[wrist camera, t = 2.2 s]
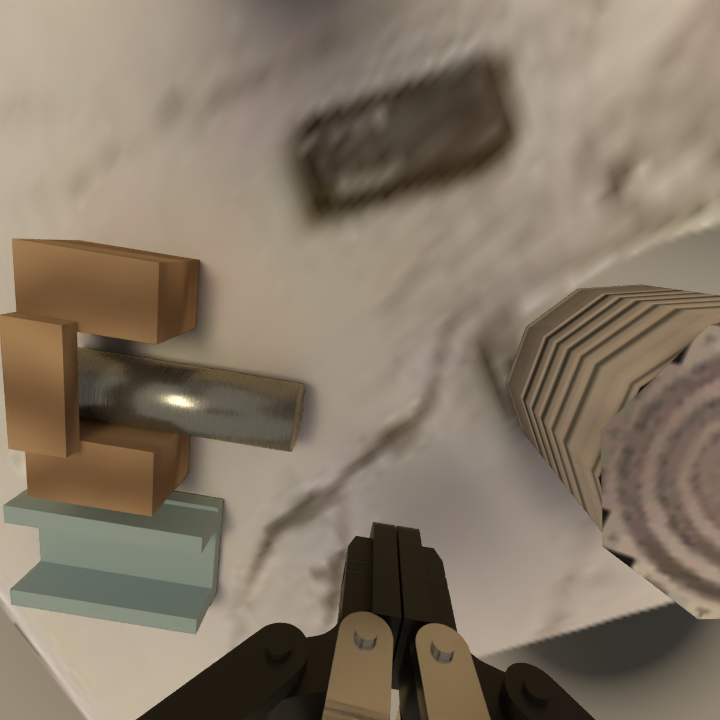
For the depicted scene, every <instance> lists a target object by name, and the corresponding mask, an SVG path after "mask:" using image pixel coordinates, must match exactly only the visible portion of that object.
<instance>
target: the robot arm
mask: <svg viewBox="0 0 720 720" xmlns="http://www.w3.org/2000/svg"><path fill="white" fill-rule="evenodd" d="M447 586H448V585H447V581H446V577H445V571H444V566H443V561H442V560H441V558H440V557H439V555H438V554H437V553H436V551H435V550H434V548H428V547H422V544H421V537H420V531H419V529H414V528H408V527H402V526H396V527H395V525H389V524H383V523H376V522H373V524H372V529H371V534H370V538H366V537H360V536H355V538H354V539H353V540H352V542H351V543H350V544H349V546H348V551H347V556H346V562H345V568H344V573H343V579H342V585H341V594H340V603H339V613H338V622H337V625H336V626H335V627H334V628H333V629H331V630H330V631H328V632H327V633H324V634H322V635H318V636H313V637H307V638H306V637H305V635H304V634H303V633H302V631H301V630H299V629H298V628H297V627H295V626H293V625H291V624H287V623H274V624H270V625H267V626H265V627H263V628H262V629H260V630H259V631H258V632H256V633H255V634H253V635H252V636H251V637H249V638H248V639H247V640H245V641H244V642H242V643H241V644H240V645H238V646H237V647H236V648H234V649H233V650H231V651H230V652H229V653H227V654H226V655H225V656H223V657H222V658H220V659H219V660H218V661H216V662H215V663H213V664H212V665H211V666H209V667H208V668H207V669H205V670H204V671H202V672H201V673H200V674H198V675H197V676H196V677H194V678H193V679H191V680H190V681H189V682H187V683H186V684H185V685H183V686H182V687H180V688H179V689H178V690H176V691H175V692H174V693H172V694H171V695H169V696H168V697H167V698H165V699H164V700H163V701H161V702H160V703H158V704H157V705H156V706H154V707H153V708H152V709H150V710H149V711H147V712H146V713H145V714H143V715H142V716H141V717H139V718H138V719H136V720H390V706H391V689H397V690H399V698H400V704H399V708H398V712H397V716H396V720H595V719H594V718H593V717H592V716H591V715H590V714H589V713H588V712H587V711H585V710H584V709H583V708H582V707H581V706H580V705H579V704H578V703H577V702H576V701H575V700H574V699H573V698H572V697H571V696H570V695H569V694H568V693H567V692H566V691H564V689H562V688H561V687H560V686H559V685H558V684H557V683H556V682H555V681H554V680H553V679H552V678H551V677H550V676H549V675H548V674H546V673H545V672H544V671H542V670H540V669H539V668H537V667H535V666H533V665H530V664H527V663H515V664H512V665H511V666H509V668H507V670H506V672H503V671H501V670H499V669H496V668H495V667H492V666H490V665H488V664H486V663H484V662H482V661H481V660H479V659H478V658H476V657H475V656H474V655H473V654H471V653H470V650H469V647H468V645H467V643H466V642H465V640H464V639H463V638H462V637H461V635H460V634H459V633H457V629H456V624H455V619H454V614H453V610H452V605H451V600H450V595H449V590H448V589H447Z"/></svg>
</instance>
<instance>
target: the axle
mask: <svg viewBox="0 0 720 720" xmlns="http://www.w3.org/2000/svg"><path fill="white" fill-rule="evenodd" d="M77 353H78V394H79V417H80V418H86V419H92V420H98V421H104V422H110V423H116V424H122V425H128V426H135V427H141V428H147V429H153V430H159V431H165V432H171V433H177V434H183V435H190V436H196V437H202V438H208V439H214V440H220V441H226V442H232V443H239V444H245V445H251V446H257V447H263V448H269V449H275V450H281V451H287V452H292V450H293V448H294V446H295V443H296V440H297V436H298V432H299V428H300V423H301V417H302V409H303V402H304V394H305V387H304V384H300V383H294V382H288V381H282V380H276V379H270V378H264V377H258V376H251V375H245V374H239V373H233V372H227V371H221V370H215V369H209V368H203V367H196V366H190V365H184V364H178V363H172V362H166V361H160V360H154V359H148V358H141V357H135V356H129V355H123V354H117V353H111V352H105V351H99V350H93V349H86V348H80V347H77Z"/></svg>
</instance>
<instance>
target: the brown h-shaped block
mask: <svg viewBox="0 0 720 720" xmlns="http://www.w3.org/2000/svg"><path fill="white" fill-rule="evenodd" d="M12 247H13V263H14V279H15V295H16V311H17V312H13V313H7V314H2V315H0V339H1V353H2V366H3V380H4V393H5V407H6V420H7V434H8V447H9V449H13V450H19V451H25V455H26V471H27V487H28V497H34V498H40V499H46V500H52V501H58V502H65V503H71V504H77V505H83V506H89V507H95V508H102V509H108V510H114V511H120V512H126V513H132V514H139V515H145V516H151V517H152V516H153V515H154V514H155V512H156V511H157V510H158V509H159V508H160V506H161V505H162V504H163V503H164V502H165V500H166V499H167V498H168V497H169V496H170V494H171V493H172V492H173V491H174V490H175V489H176V487H177V486H178V485H179V484H180V483H181V481H182V480H183V479H184V478H185V477H186V475H187V474H188V465H189V446H190V435H183V434H177V433H171V432H165V431H159V430H153V429H147V428H141V427H135V426H128V425H122V424H116V423H110V422H104V421H98V420H92V419H86V418H80V417H79V394H78V353H77V332H83V333H89V334H95V335H101V336H108V337H114V338H120V339H126V340H132V341H138V342H144V343H151V344H159V343H161V342H164V341H166V340H168V339H170V338H173V337H175V336H177V335H180V334H182V333H184V332H187V331H189V330H191V329H193V328H196V315H197V296H198V277H199V260H196V259H190V258H184V257H178V256H172V255H166V254H159V253H153V252H147V251H141V250H135V249H129V248H123V247H116V246H110V245H104V244H98V243H92V242H86V241H80V240H41V239H12Z"/></svg>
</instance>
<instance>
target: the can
mask: <svg viewBox="0 0 720 720" xmlns="http://www.w3.org/2000/svg"><path fill="white" fill-rule="evenodd" d="M506 383H507V386H508V389H509V392H510V395H511V398H512V401H513V404H514V407H515V410H516V413H517V416H518V420H519V423H520V426H521V429H522V431H523V433H524V434H525V435H526V436H527V438H528V439H529V440H530V441H531V443H532V444H533V445H534V446H535V448H536V449H537V450H538V452H539V453H540V454H541V455H542V457H543V458H544V459H545V460H546V462H547V463H548V464H549V465H550V467H551V468H552V469H553V471H554V472H555V473H556V474H557V476H558V477H559V478H560V479H561V481H562V482H563V483H564V484H565V486H566V487H567V488H568V489H569V491H570V492H571V493H572V495H573V496H574V497H575V498H576V500H577V501H578V502H579V503H580V505H581V506H582V507H583V508H584V510H585V511H586V512H587V513H588V515H589V516H590V517H591V519H592V520H593V521H594V522H595V524H596V525H597V526H598V527H599V529H600V530H601V531H602V536H603V547H604V548H606V549H607V550H608V551H609V552H611V553H612V554H613V555H615V556H616V557H617V558H619V559H620V560H621V561H623V562H624V563H625V564H627V565H628V566H629V567H631V568H632V569H633V570H634V571H636V572H637V573H638V574H640V575H641V576H642V577H644V578H645V579H646V580H648V581H649V582H650V583H652V584H653V585H654V586H656V587H657V588H658V589H659V590H661V591H662V592H663V593H665V594H666V595H667V596H669V597H670V598H671V599H673V600H674V601H675V602H677V603H678V604H679V605H681V606H682V607H683V608H685V609H686V610H687V611H689V612H690V613H691V614H692V615H694V616H695V617H696V618H698V619H720V296H719V295H711V294H704V293H697V292H690V291H682V290H676V289H668V288H661V287H653V286H647V285H628V286H613V287H596V288H581V289H576V290H575V291H574V292H572V293H571V294H570V295H568V296H567V297H566V298H564V299H563V300H562V301H560V302H559V303H558V304H556V305H555V306H554V307H552V308H551V309H550V310H548V311H547V312H546V313H544V314H543V315H541V316H540V317H539V318H537V319H536V320H535V321H533V322H532V323H531V324H529V325H528V326H527V327H526V328H525V331H524V334H523V336H522V339H521V342H520V345H519V347H518V350H517V353H516V356H515V359H514V361H513V364H512V367H511V370H510V372H509V375H508V378H507V380H506Z"/></svg>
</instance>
